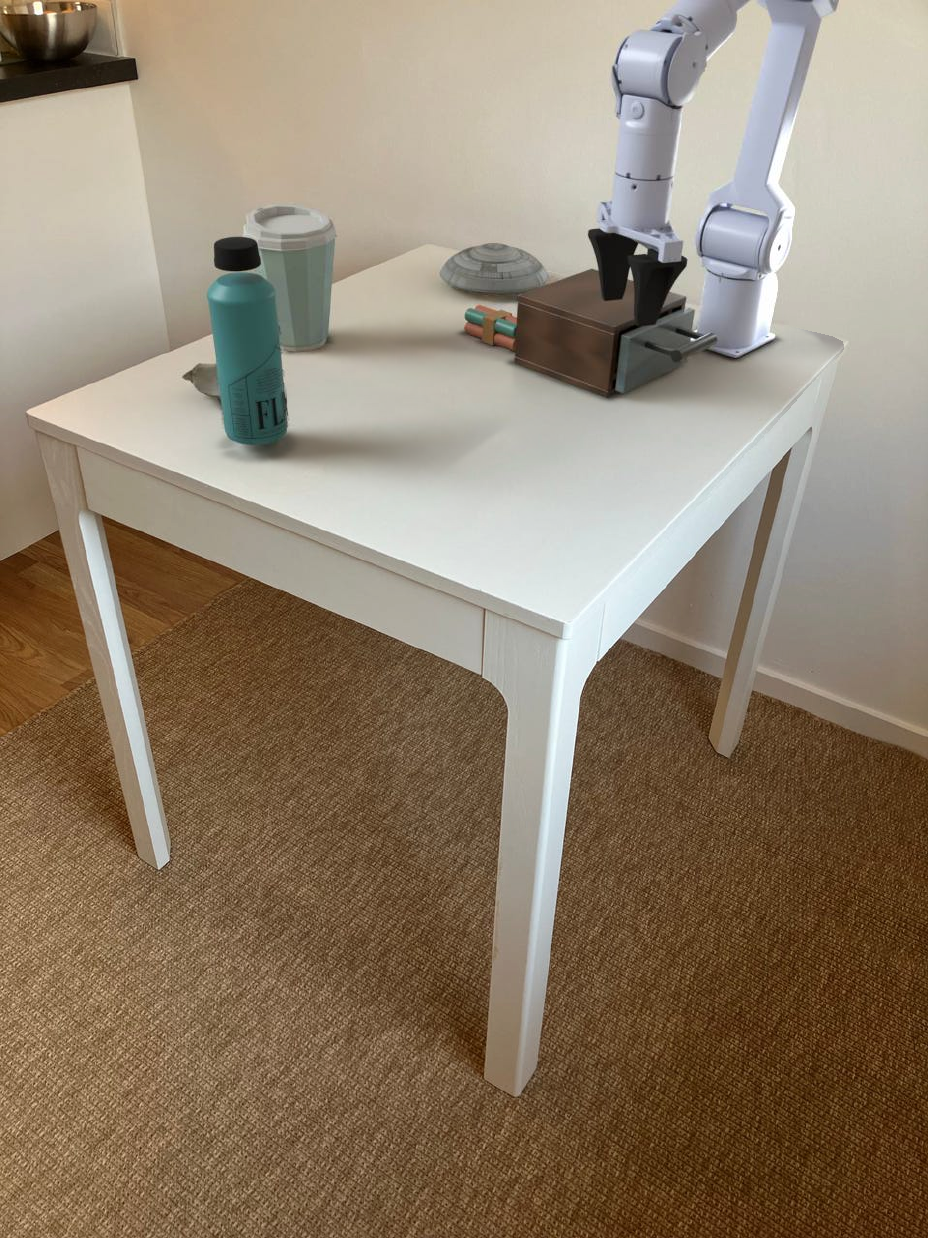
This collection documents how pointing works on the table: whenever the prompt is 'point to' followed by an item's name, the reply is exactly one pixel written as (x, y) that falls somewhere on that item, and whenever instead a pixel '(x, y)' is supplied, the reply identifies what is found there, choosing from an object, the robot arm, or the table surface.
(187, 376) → the seashell
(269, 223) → the disposable coffee cup
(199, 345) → the table surface
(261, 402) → the beverage bottle
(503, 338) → the teal and pink cylinders
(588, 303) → the cabinet
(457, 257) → the flying saucer
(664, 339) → the drawer
